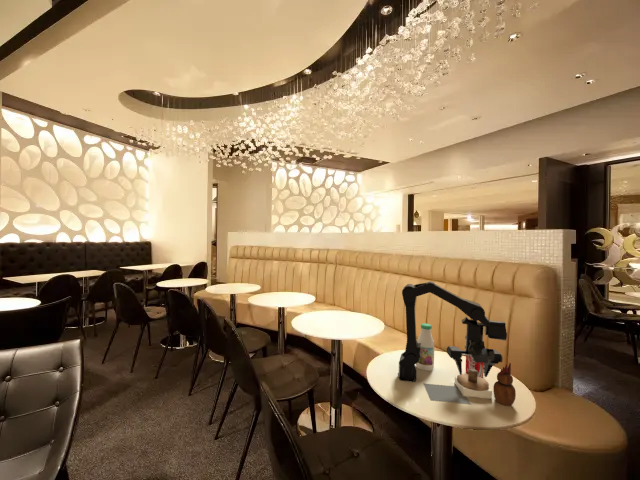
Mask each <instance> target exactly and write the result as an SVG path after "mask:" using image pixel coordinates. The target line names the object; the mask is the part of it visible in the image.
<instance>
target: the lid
mask: <svg viewBox="0 0 640 480" xmlns="http://www.w3.org/2000/svg"><path fill="white" fill-rule="evenodd" d="M477 375H478V371H477V370H475V369H468V374H466V373H462V375H460V374H458V375H456V376H457V382H458V383H459V384H460V385H462V386H464V387H466V388H468V389H472V390H476V391H485V390H487V389H488V388H490V387H489V386H490V384H489V382H488V381H487V380H486V379H485V378H484V377H482V378H481V377H478V376H477Z"/></svg>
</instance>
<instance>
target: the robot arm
mask: <svg viewBox="0 0 640 480" xmlns="http://www.w3.org/2000/svg"><path fill="white" fill-rule="evenodd" d="M430 293H431V294H432V295H434V296H437V298H440V299H441V300H443V301H445V302H447V303H449V304H451V305H452V306H454V307H456V308H457V309H459V310H460V311H461V312H463V313H464V315H466V316H465V317H464V318H462V319H461V323H462V324H463V325H466V332H465V334H466V335H465V337H464V339H465V345H464V349H463V350H462V349H460V348H459V347H458V346H452V345H449V346H447V347H446V353H447V355H448V356H449V357H450V358H451V359H453V360H454V362H455V365H456V367H457V370H458V373H459V374H458V375H462V374H463V369H462V362H463V359H462V358H463V356H465V357H466V356H472V357H473V359H474V361H475V362H477V363H479V362H481V363H484V374H483V377H484V378H487V377H488V375H489V373H490V371H491V370H492V367H494V366H495V365H499V363H503V360H504V358H503V354H502V353H500V352H499V351H498V350H496V349H493V348H486V346H485V341H484V336H487V339H494V340H499V341H507V337H508V332H507V326H506V322H505V321H503V320H501V321H500V320H499V321H498V320H496V321H495V320H489V318H488V317H487V316H486V311H485V310H484V308H483V306H482V305H481V304H480V303H478V302H475V301H473V300H469V299H466V298H462V297H460V296H458V295H457V294H455V293H452V292H451V291H449V290H447V289H445V288H444V287H441V286H440V285H438V284H436V283H435V282H433V281H427V282H422V283H416V284H412V283H408V284H405V285H404V287H403V289H402V290H401V295H402V300H403V303H404V304H403V305H404V306H405V321H406V322H405V323H406V325H405V327H406V344H405V350H404V352H402V353H401V355H400V357H399V361H398V373H397V375H398V380H399V381H403V382H412V383H416V380H417V367H416V363H418V361H419V358H421V343H418V342H417V339H418V338H417V321H416V319H417V318H416V302H417V297H419V296H422V295H425V294H430ZM468 317H469V318H468Z"/></svg>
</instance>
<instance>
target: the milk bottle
mask: <svg viewBox="0 0 640 480" xmlns="http://www.w3.org/2000/svg"><path fill="white" fill-rule="evenodd" d="M416 339H417V342H418V343H421V358H419V361H418V363H416V364H415V367H416V368H417V369H420V370H423V371H433V370H434V367H435V341H434V338H433V336H432V324H430V323H421V324H420V333H419V335H418V337H417V338H416Z"/></svg>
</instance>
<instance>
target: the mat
mask: <svg viewBox="0 0 640 480" xmlns="http://www.w3.org/2000/svg"><path fill="white" fill-rule="evenodd" d="M423 386H424V388H425V391H426V393H427V395H428V399H430V401H433V402H434V401H435V402H443V403H445V402H446V403H452V404H453V403H455V404H463V405H464V404H465V405H472V403H471V402H470V400H469V398H468V397H466V396H463V395H462V393H461V392H460V390H459V389H458V387H457V386H456V385H454V386H453V385H445V384H434V383H423Z"/></svg>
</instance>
